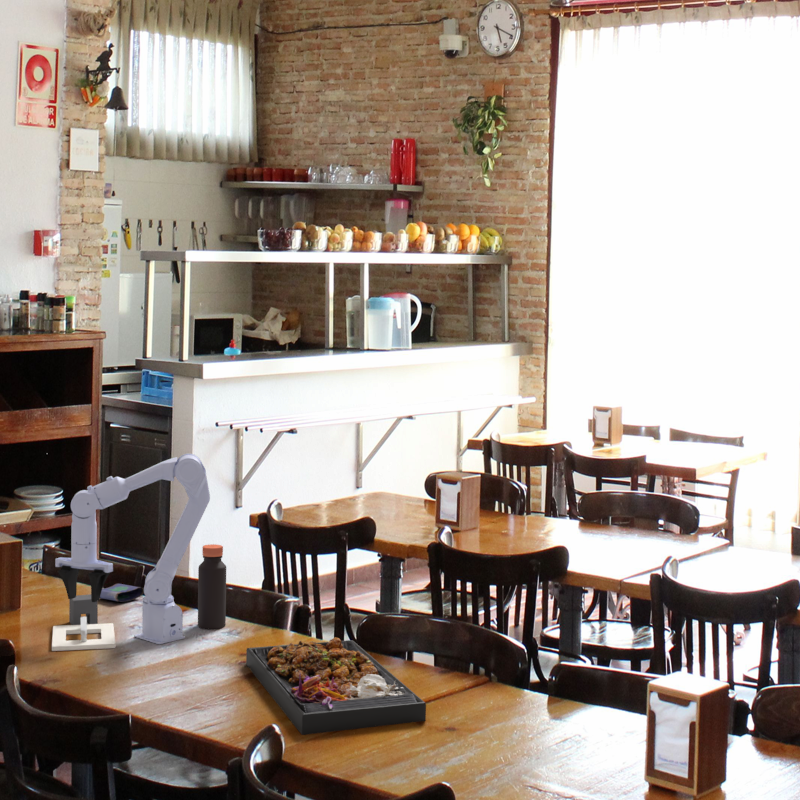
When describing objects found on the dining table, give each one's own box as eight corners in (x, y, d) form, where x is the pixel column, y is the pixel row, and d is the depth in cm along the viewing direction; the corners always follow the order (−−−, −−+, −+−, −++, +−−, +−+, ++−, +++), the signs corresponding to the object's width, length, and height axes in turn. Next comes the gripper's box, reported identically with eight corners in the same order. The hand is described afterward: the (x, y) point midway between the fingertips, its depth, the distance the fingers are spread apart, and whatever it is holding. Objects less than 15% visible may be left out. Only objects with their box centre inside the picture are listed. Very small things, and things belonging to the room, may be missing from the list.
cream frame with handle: (115, 647, 275) (115, 632, 275) (51, 651, 271) (51, 635, 271) (113, 627, 292) (113, 612, 292) (53, 629, 288) (53, 615, 288)
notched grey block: (93, 619, 299) (93, 594, 298) (97, 624, 294) (97, 598, 294) (69, 622, 296) (69, 596, 296) (73, 627, 292) (73, 600, 291)
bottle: (223, 630, 291) (224, 549, 290) (195, 630, 291) (196, 548, 290) (227, 623, 298) (228, 544, 297) (200, 622, 298) (201, 543, 297)
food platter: (425, 725, 231) (427, 672, 230) (301, 738, 222) (303, 683, 222) (352, 659, 273) (353, 614, 272) (246, 667, 264) (246, 621, 264)
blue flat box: (116, 593, 312) (89, 589, 319) (117, 604, 313) (90, 600, 319) (143, 585, 320) (116, 581, 326) (144, 596, 320) (116, 592, 326)
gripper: (120, 542, 281) (120, 599, 282) (68, 536, 286) (67, 592, 287) (103, 547, 275) (102, 606, 276) (49, 541, 280) (49, 599, 281)
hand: (83, 599), depth 281 cm, fingers open, 6 cm apart
